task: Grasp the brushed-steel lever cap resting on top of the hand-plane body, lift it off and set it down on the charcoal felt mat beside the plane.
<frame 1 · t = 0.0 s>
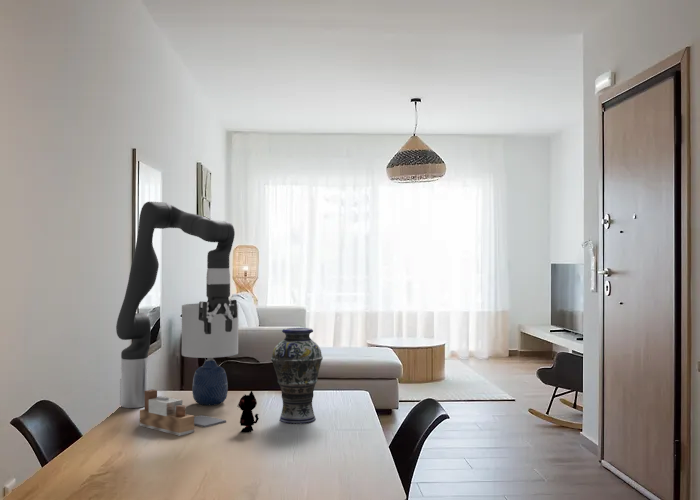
hand: (218, 332, 224), 29 cm above the table, fingers open, 8 cm apart
plane body: (166, 428, 218), on the table
felt mat: (203, 422, 227), on the table
lamp: (210, 404, 255), on the table
lever cap: (165, 412, 218), point 5 cm above the table, touching plane body
cat figurine: (248, 431, 215), on the table
vase: (296, 420, 230), on the table
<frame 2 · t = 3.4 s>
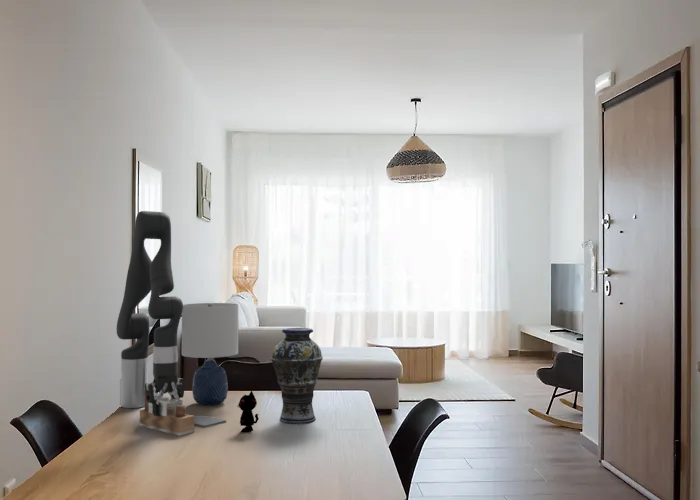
hand: (165, 413, 218), 5 cm above the table, fingers closed on lever cap, 6 cm apart
lever cap: (165, 412, 218), point 5 cm above the table, touching gripper, plane body
everything else where it was.
when the fingers open (2 cm above the table, at t = 9.2 s): lever cap drops 1 cm, resting on felt mat.
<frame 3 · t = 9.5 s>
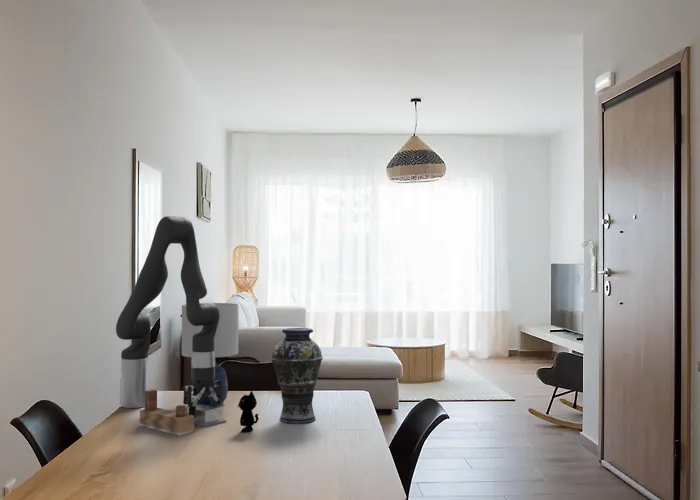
hand: (203, 415, 227), 2 cm above the table, fingers open, 8 cm apart
lever cap: (203, 420, 227), point 1 cm above the table, touching felt mat
everything else where it was.
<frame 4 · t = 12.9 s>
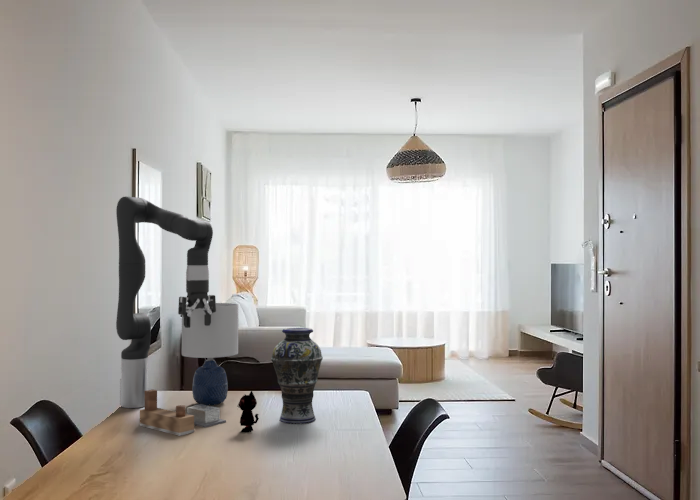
hand: (197, 326, 237), 30 cm above the table, fingers open, 8 cm apart
nothing on the table moved.
at the end: lever cap inside the target area on the felt mat (0.1 cm from its centre), point 0.6 cm above the felt mat's base; lever cap touching felt mat; lever cap tilted 0° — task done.
